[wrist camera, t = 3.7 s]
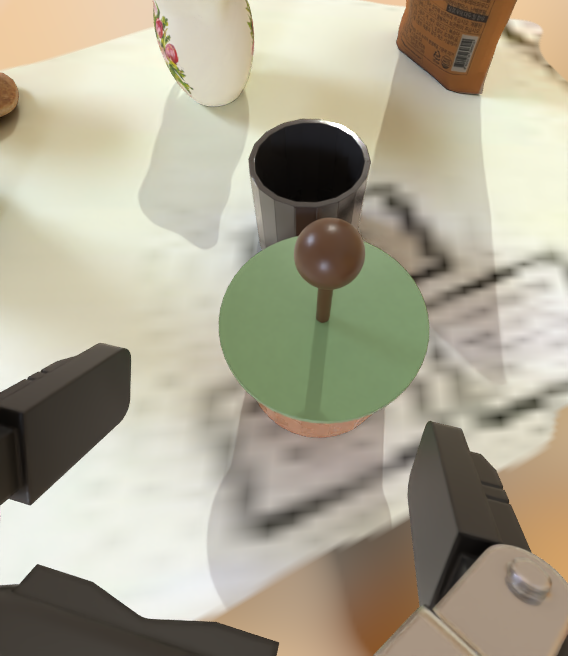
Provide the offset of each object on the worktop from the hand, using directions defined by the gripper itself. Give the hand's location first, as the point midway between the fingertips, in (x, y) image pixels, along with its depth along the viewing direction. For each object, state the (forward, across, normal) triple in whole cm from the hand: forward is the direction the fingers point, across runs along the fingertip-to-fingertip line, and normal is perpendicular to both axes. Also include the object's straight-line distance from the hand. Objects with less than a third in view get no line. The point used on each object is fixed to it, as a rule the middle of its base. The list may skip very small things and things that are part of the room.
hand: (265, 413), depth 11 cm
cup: (+34, +4, 0) cm, 34 cm away
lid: (+17, 0, +3) cm, 17 cm away
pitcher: (+49, +21, -15) cm, 55 cm away
